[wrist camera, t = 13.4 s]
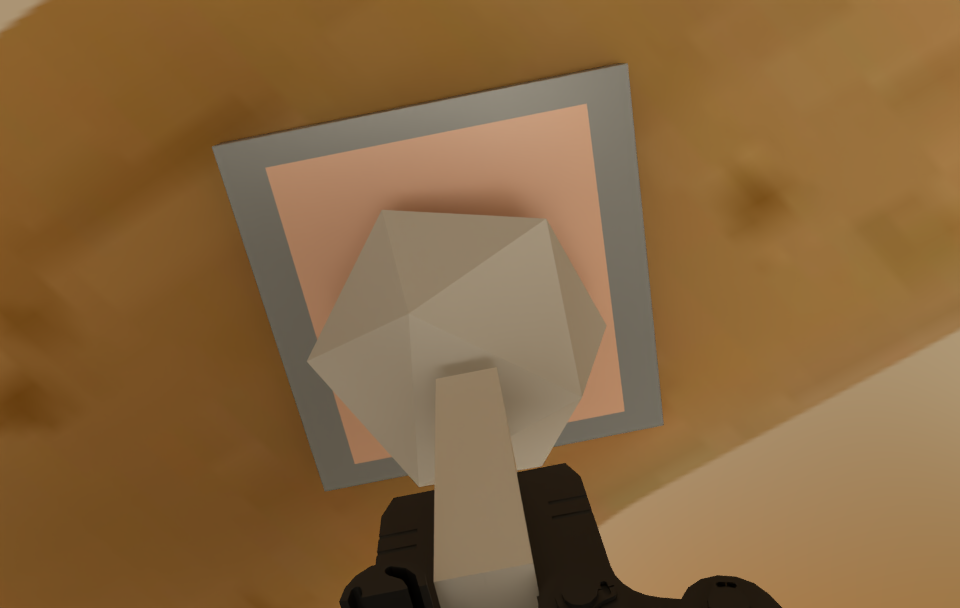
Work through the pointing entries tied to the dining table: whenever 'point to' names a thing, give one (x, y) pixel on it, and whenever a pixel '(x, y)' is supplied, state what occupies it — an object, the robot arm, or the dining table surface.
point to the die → (459, 330)
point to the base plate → (458, 190)
